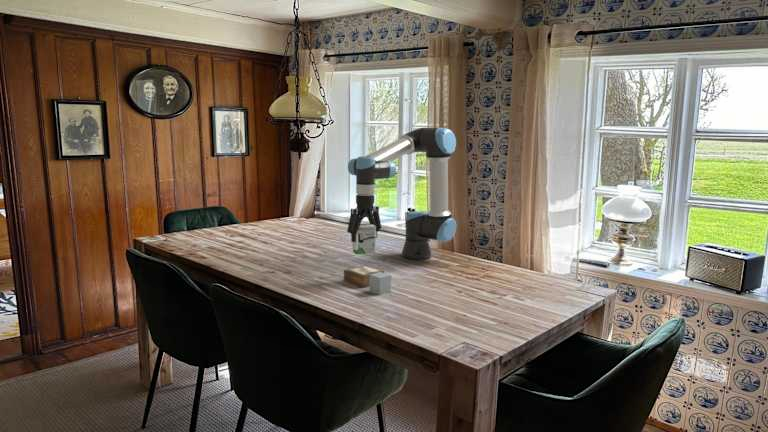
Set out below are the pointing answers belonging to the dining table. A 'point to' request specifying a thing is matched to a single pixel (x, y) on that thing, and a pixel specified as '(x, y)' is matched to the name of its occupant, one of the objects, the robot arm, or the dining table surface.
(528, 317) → the dining table surface
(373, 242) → the ink box
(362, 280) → the pedestal
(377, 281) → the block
